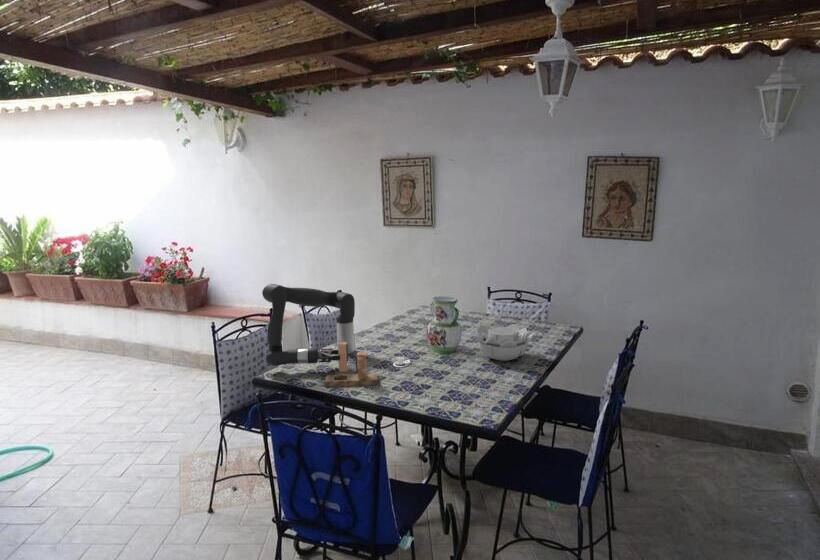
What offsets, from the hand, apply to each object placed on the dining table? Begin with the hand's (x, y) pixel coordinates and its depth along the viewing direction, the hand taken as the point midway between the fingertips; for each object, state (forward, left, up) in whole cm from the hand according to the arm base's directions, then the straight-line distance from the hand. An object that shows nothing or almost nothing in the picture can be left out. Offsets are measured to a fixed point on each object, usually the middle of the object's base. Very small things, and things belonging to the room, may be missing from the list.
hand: (340, 354), depth 258 cm
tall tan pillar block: (-1, +1, -8) cm, 8 cm away
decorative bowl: (-57, +63, -8) cm, 85 cm away
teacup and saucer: (-21, +24, -9) cm, 33 cm away
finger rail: (+10, +15, -8) cm, 20 cm away
